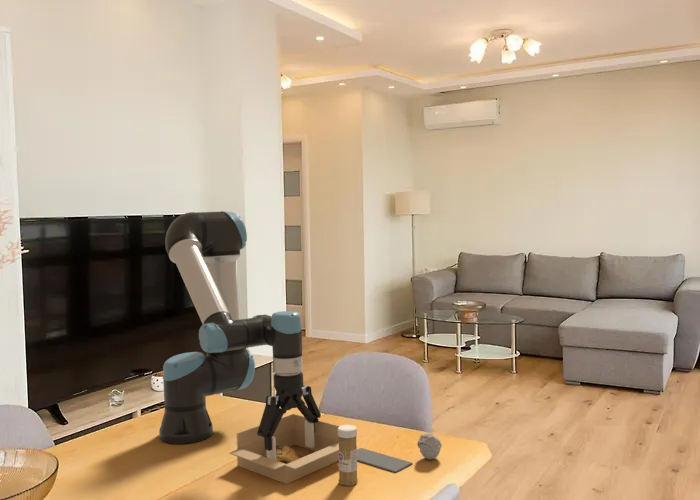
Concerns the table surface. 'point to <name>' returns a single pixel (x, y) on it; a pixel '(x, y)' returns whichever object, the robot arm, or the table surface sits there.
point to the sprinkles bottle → (347, 455)
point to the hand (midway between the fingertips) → (291, 454)
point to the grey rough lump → (429, 446)
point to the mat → (381, 460)
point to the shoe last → (286, 454)
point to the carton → (289, 434)
